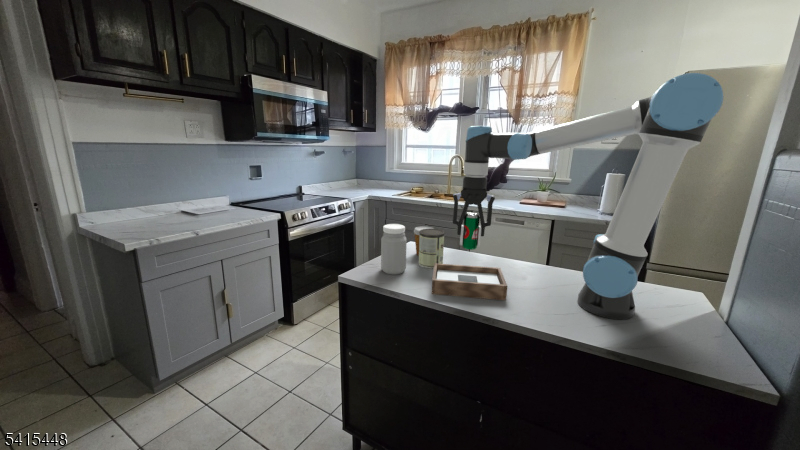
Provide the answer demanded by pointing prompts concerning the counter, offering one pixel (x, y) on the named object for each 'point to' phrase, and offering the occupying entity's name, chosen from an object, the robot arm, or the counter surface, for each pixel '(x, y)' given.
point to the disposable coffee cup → (417, 234)
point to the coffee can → (431, 247)
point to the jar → (393, 249)
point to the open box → (469, 283)
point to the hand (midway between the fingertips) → (469, 244)
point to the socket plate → (467, 276)
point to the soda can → (470, 231)
